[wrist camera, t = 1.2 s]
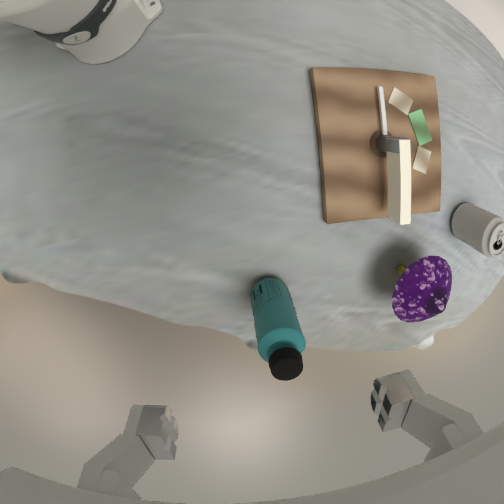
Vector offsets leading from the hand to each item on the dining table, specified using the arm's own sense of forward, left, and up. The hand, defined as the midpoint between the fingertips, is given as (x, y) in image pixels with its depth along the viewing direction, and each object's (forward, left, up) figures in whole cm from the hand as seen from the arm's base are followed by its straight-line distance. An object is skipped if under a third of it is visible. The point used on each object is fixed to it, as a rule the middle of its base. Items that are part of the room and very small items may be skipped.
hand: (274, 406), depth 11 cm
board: (-7, +22, -38) cm, 45 cm away
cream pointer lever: (-6, +22, -36) cm, 43 cm away
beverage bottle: (+16, +2, -38) cm, 42 cm away
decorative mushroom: (+16, +27, -38) cm, 50 cm away
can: (+8, +42, -38) cm, 58 cm away
